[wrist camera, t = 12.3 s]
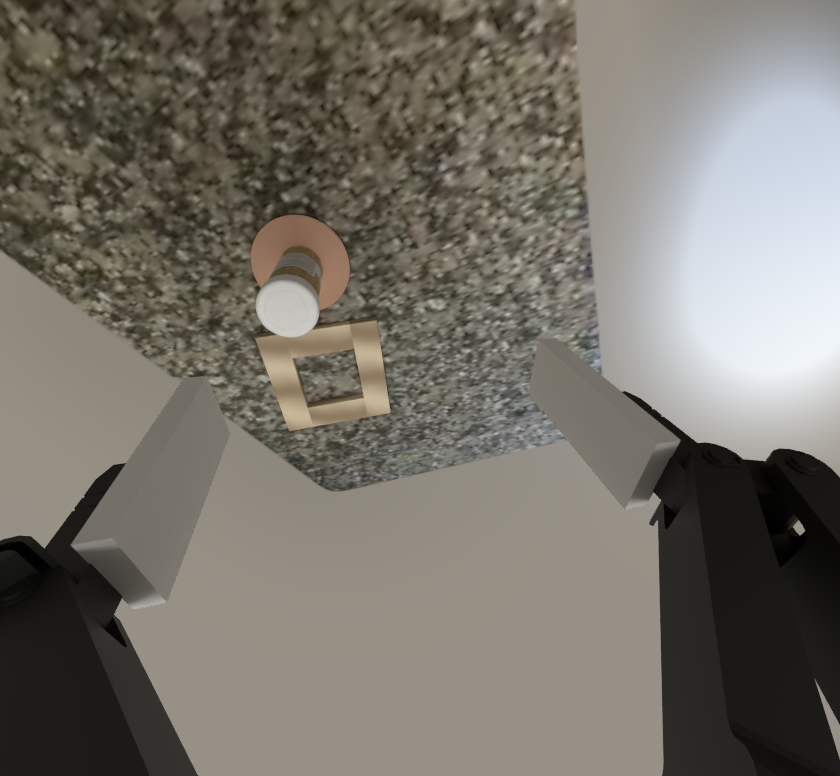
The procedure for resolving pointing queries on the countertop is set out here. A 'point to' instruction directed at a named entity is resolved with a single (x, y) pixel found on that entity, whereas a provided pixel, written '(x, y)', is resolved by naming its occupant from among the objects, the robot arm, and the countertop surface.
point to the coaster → (307, 234)
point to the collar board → (320, 341)
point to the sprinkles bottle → (292, 293)
